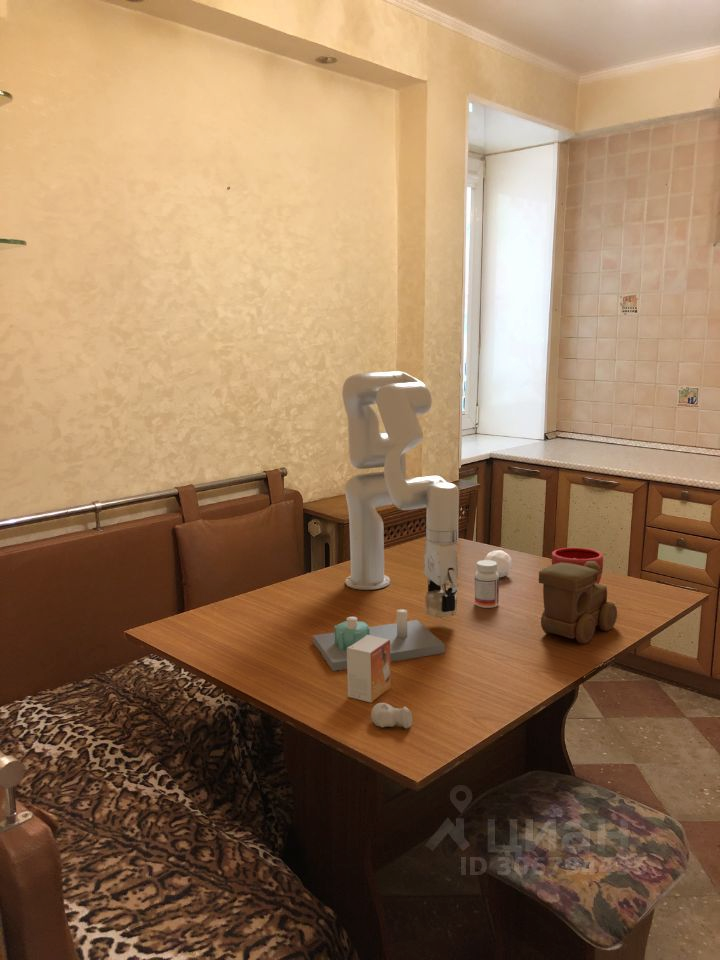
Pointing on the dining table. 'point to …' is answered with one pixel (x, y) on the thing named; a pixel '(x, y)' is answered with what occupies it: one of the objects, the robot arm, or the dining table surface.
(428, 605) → the wooden gear
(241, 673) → the dining table surface
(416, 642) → the gear board
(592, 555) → the plant pot
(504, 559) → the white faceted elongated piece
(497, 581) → the pill bottle
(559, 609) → the wooden toy train
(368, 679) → the small box
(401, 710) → the pale two-lobed sculpture
